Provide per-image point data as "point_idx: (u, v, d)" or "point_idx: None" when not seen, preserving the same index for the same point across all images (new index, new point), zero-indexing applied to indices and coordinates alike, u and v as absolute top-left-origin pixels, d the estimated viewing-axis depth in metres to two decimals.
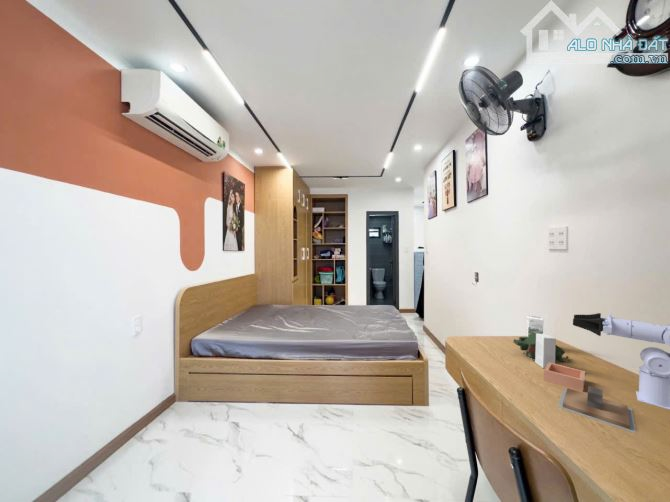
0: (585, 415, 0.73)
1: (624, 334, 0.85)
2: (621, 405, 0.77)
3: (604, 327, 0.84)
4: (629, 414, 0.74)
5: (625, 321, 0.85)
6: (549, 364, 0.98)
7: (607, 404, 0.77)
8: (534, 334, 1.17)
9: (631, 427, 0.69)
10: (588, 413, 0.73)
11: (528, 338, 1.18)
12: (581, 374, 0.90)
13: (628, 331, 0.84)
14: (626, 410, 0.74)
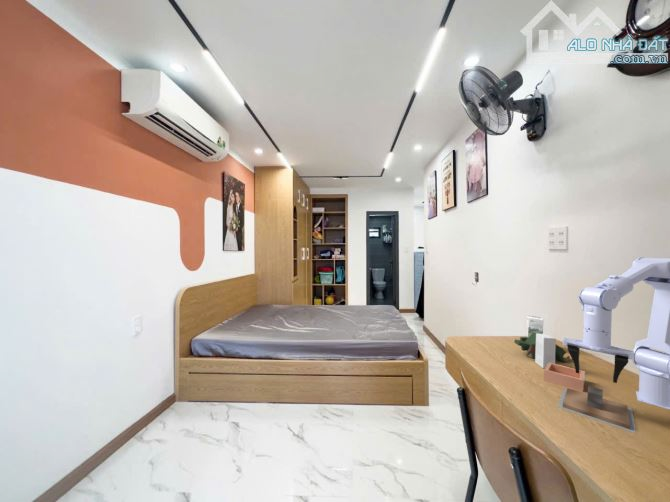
0: (585, 415, 0.73)
1: None
2: (621, 405, 0.77)
3: (634, 358, 0.71)
4: (629, 414, 0.74)
5: (603, 336, 0.74)
6: (549, 364, 0.98)
7: (607, 404, 0.77)
8: (535, 334, 1.17)
9: (631, 427, 0.69)
10: (588, 413, 0.73)
11: (529, 338, 1.18)
12: (581, 374, 0.90)
13: (610, 333, 0.75)
14: (626, 410, 0.74)
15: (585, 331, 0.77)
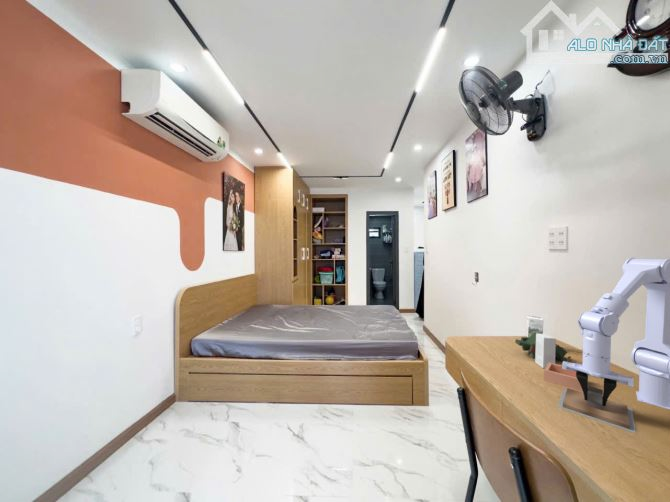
0: (585, 415, 0.73)
1: None
2: (621, 405, 0.77)
3: (633, 385, 0.71)
4: (629, 414, 0.74)
5: (602, 362, 0.74)
6: (549, 364, 0.98)
7: (607, 404, 0.77)
8: None
9: (631, 427, 0.69)
10: (588, 413, 0.73)
11: (530, 338, 1.18)
12: None
13: None
14: (626, 410, 0.74)
15: (584, 356, 0.77)
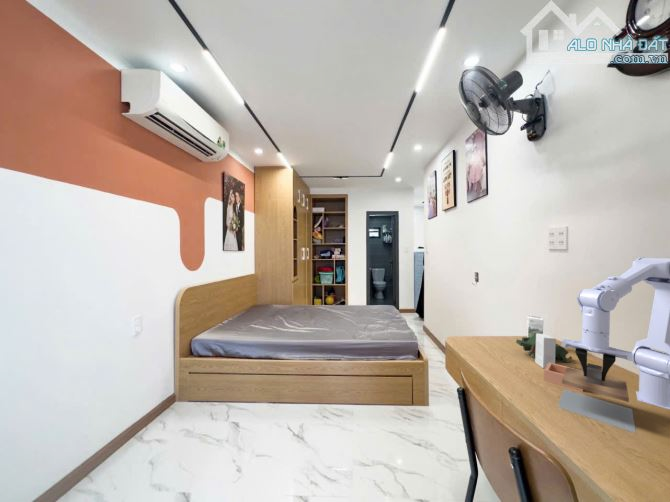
0: (585, 415, 0.73)
1: None
2: (620, 381, 0.77)
3: (632, 359, 0.72)
4: (629, 414, 0.74)
5: (601, 337, 0.75)
6: (549, 364, 0.98)
7: (606, 380, 0.78)
8: None
9: (631, 427, 0.69)
10: (587, 388, 0.74)
11: (531, 338, 1.18)
12: None
13: None
14: (625, 385, 0.75)
15: (584, 332, 0.78)
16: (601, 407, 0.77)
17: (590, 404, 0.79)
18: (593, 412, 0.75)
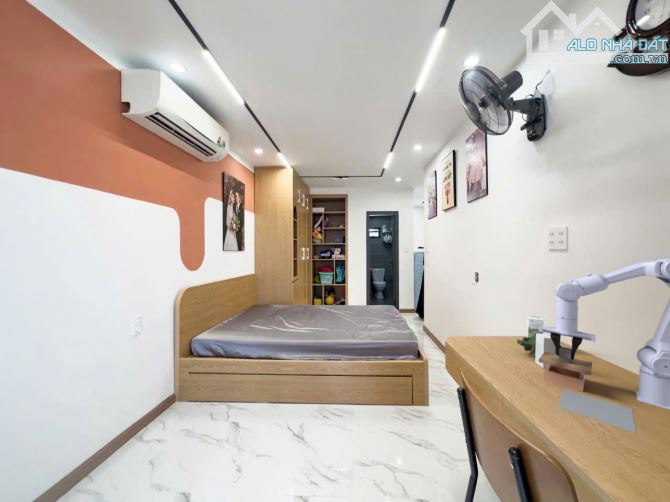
0: (585, 415, 0.73)
1: None
2: (587, 362, 0.92)
3: None
4: (629, 414, 0.74)
5: (571, 323, 0.90)
6: None
7: (576, 361, 0.93)
8: None
9: (631, 427, 0.69)
10: (559, 365, 0.89)
11: (532, 338, 1.18)
12: (581, 374, 0.90)
13: (577, 320, 0.91)
14: (590, 364, 0.90)
15: (557, 319, 0.93)
16: (601, 407, 0.77)
17: (590, 404, 0.79)
18: (593, 412, 0.75)
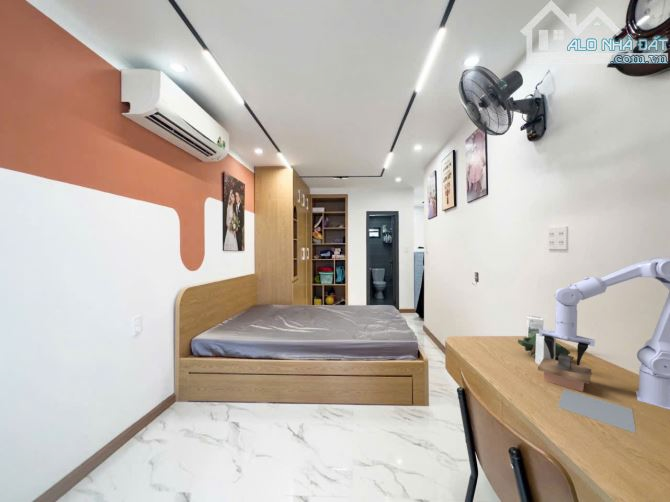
0: (585, 415, 0.73)
1: None
2: (586, 368, 0.93)
3: (594, 345, 0.87)
4: (629, 414, 0.74)
5: (570, 327, 0.90)
6: None
7: (575, 368, 0.93)
8: None
9: (631, 427, 0.69)
10: (558, 373, 0.89)
11: (533, 338, 1.18)
12: None
13: (576, 325, 0.91)
14: (589, 371, 0.90)
15: (556, 323, 0.94)
16: (601, 407, 0.77)
17: (590, 404, 0.79)
18: (593, 412, 0.75)
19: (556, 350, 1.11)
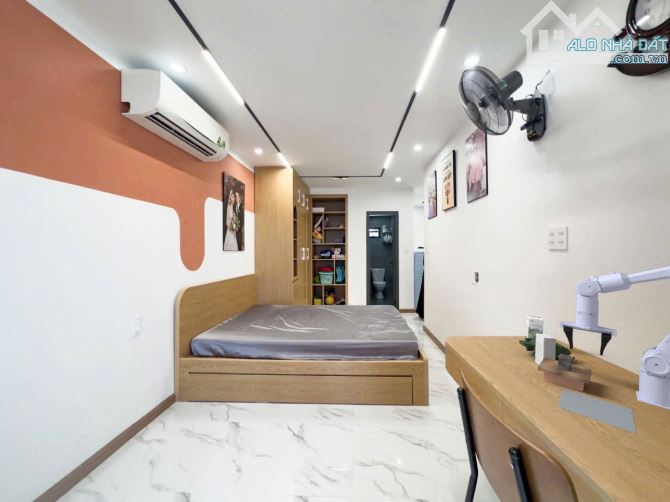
0: (585, 415, 0.73)
1: None
2: (586, 368, 0.93)
3: None
4: (629, 414, 0.74)
5: (592, 318, 0.92)
6: None
7: (575, 368, 0.93)
8: None
9: (631, 427, 0.69)
10: (558, 373, 0.89)
11: (534, 339, 1.18)
12: None
13: None
14: (589, 371, 0.90)
15: (577, 314, 0.95)
16: (601, 407, 0.77)
17: (590, 404, 0.79)
18: (593, 412, 0.75)
19: (558, 350, 1.11)
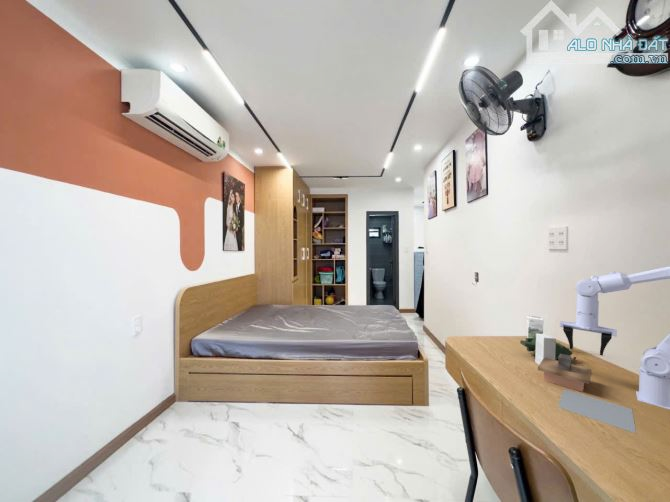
0: (585, 415, 0.73)
1: None
2: (586, 368, 0.93)
3: None
4: (629, 414, 0.74)
5: (592, 318, 0.92)
6: None
7: (575, 368, 0.93)
8: None
9: (631, 427, 0.69)
10: (558, 373, 0.89)
11: (535, 339, 1.17)
12: None
13: None
14: (589, 371, 0.90)
15: (577, 314, 0.95)
16: (601, 407, 0.77)
17: (590, 404, 0.79)
18: (593, 412, 0.75)
19: (559, 350, 1.10)
